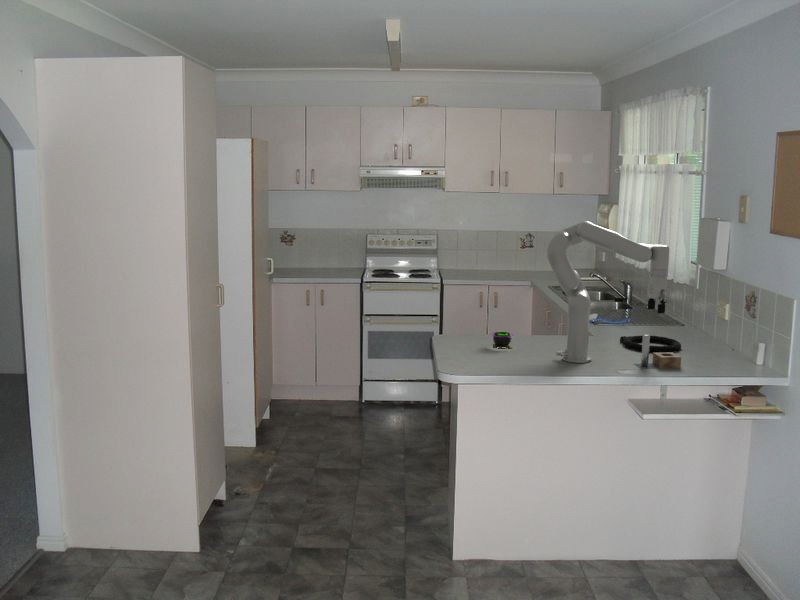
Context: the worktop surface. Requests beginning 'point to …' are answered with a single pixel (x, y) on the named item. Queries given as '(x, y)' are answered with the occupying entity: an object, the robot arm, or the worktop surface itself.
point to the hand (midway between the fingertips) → (656, 311)
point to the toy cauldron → (502, 339)
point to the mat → (649, 366)
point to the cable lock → (631, 344)
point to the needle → (645, 350)
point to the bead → (666, 360)
